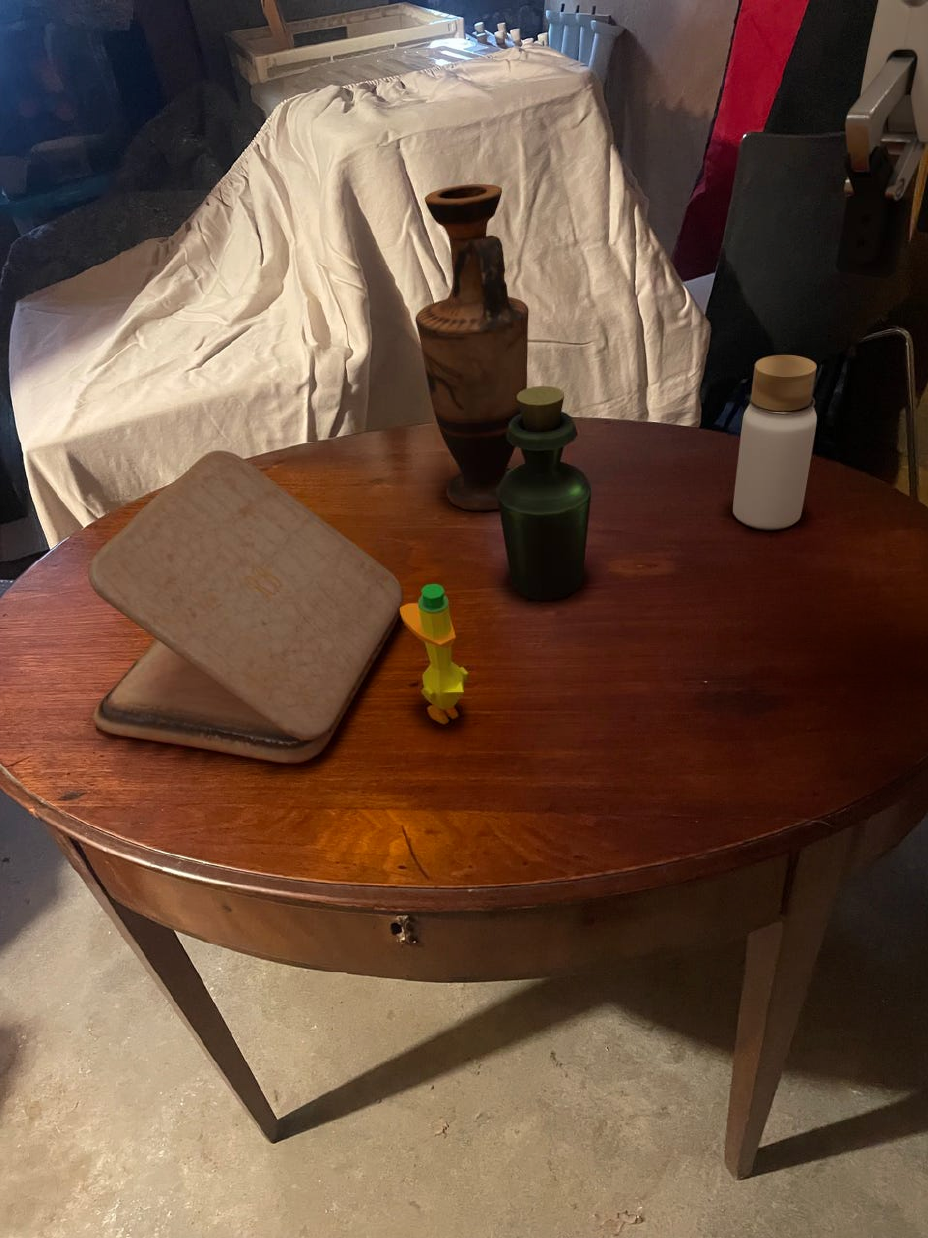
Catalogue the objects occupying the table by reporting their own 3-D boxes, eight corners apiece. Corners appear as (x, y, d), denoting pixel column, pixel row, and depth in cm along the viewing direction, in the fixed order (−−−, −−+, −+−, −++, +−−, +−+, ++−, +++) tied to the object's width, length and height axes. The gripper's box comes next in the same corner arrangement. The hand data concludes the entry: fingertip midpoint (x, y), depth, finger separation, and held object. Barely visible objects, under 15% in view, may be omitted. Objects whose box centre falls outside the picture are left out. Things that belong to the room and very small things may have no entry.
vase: (420, 486, 98) (383, 193, 80) (507, 460, 101) (490, 173, 83) (461, 528, 90) (430, 212, 72) (554, 499, 93) (546, 190, 75)
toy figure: (399, 701, 69) (377, 574, 62) (435, 681, 71) (418, 555, 63) (449, 746, 64) (433, 615, 57) (487, 724, 66) (475, 593, 59)
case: (321, 778, 63) (274, 595, 53) (79, 734, 69) (-2, 563, 59) (416, 612, 78) (393, 448, 69) (212, 588, 84) (164, 434, 75)
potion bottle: (603, 597, 78) (606, 405, 67) (515, 615, 77) (503, 423, 66) (575, 551, 84) (573, 369, 74) (493, 566, 83) (479, 385, 73)
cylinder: (812, 389, 81) (818, 355, 79) (809, 413, 77) (815, 377, 75) (753, 386, 82) (757, 353, 80) (748, 409, 78) (752, 374, 77)
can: (720, 506, 89) (732, 393, 82) (778, 494, 90) (795, 381, 82) (752, 537, 84) (767, 419, 76) (814, 524, 84) (834, 407, 77)
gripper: (991, -141, 34) (899, 303, 44) (1138, -145, 43) (1033, 226, 53) (813, -115, 39) (766, 281, 49) (979, -124, 48) (910, 213, 58)
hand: (905, 252), depth 51 cm, fingers open, 9 cm apart
